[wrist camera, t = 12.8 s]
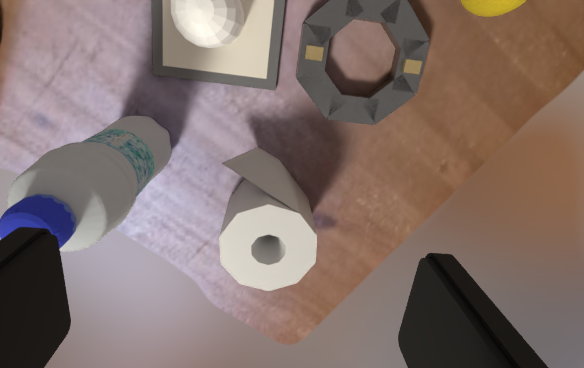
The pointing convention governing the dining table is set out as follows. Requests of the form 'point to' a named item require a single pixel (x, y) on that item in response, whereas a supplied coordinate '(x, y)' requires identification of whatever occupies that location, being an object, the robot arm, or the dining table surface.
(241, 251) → the toilet tissue
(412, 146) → the dining table surface
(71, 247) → the bottle
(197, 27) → the capsule
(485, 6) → the lemon
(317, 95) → the socket ring
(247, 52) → the mat
